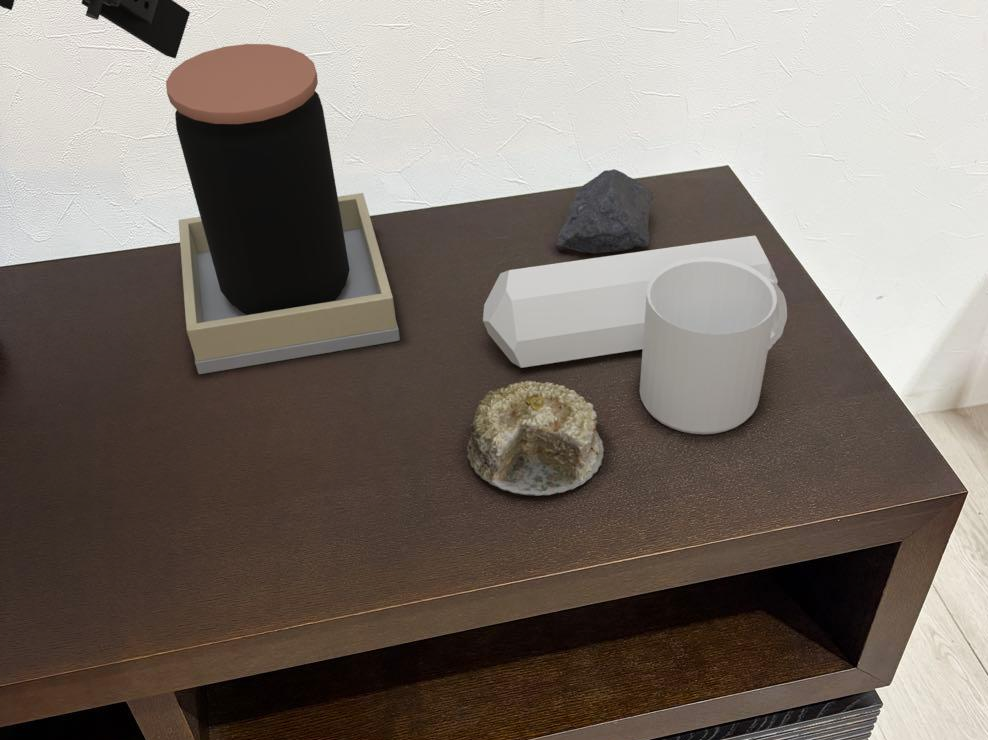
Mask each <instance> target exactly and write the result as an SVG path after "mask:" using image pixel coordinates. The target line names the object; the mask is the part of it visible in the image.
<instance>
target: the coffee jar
mask: <svg viewBox="0 0 988 740" xmlns="http://www.w3.org/2000/svg"><path fill="white" fill-rule="evenodd" d="M318 83H319V82H318V72H317V69H316V65H315V63H314V61H313V60H311V58H309V57H308V56H307V55H306V54H304V53H302V52H300V51H298V50H295V49H293V48H291V47H289V46H288V47H287V46H282V45H275V44H270V43H243V44H235V45H229V46H222V47H218V48H213V49H211V50H207V51H204V52H201V53H199V54H197V55H195V56H192V57H190V58H188V59H186V60H184V61H183V62H181V63H180V64H179V65H178V66H177V67H175V68H174V69H173V70H171V72H170V74H169V75H168V77H167V79H166V80H165V87H166V93H167V94H166V95H167V98H168V101H169V103H170V104H171V105H172V107H173V108H174V109H175V114H174V116H175V117H174V119H175V126H176V128H175V129H176V132H177V136H178V140H179V143H180V144H179V145H180V147H181V150H182V154H183V158H184V162H185V164H186V169H187V173H188V177H189V180H190V184H191V187H192V192H193V194H194V198H195V202H196V205H197V210H198V213H199V217H201V221H202V224H203V228H204V232H205V235H206V239H207V243H208V246H209V250H210V253H211V257H212V261H213V264H214V268H215V272H216V275H217V279H218V283H219V286H220V290H221V292H222V293H223V295H224V296H225V297H226V298H227V300H228V301H229V302H230V303H231V305H233V306H234V307H236V308H237V309H238V310H239V311H241V312H242V313H244V314H246V315H251V314H257V313H264V312H270V311H276V310H282V309H288V308H295V307H301V306H307V305H313V304H319V303H326V302H332V301H335V300H336V299H337V298H338V297H339V295H340V294H341V292H342V289H343V288H344V287H345V285H346V282H347V278H348V274H349V271H350V269H349V263H348V257H347V251H346V245H345V239H344V233H343V227H342V221H341V215H340V208H339V202H338V190H337V186H336V179H335V173H334V167H333V160H332V155H331V154H332V153H331V148H330V143H329V137H328V129H327V124H326V118H325V113H324V108H323V104H322V101H321V98H320V95H319V93H318V92H317V91H316V89H317V86H318Z"/></svg>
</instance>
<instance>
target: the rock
mask: <svg viewBox="0 0 988 740" xmlns="http://www.w3.org/2000/svg"><path fill="white" fill-rule="evenodd" d="M653 200H654V193H653V191H652V190H651V189H650V188H648V187H647V186H645V185H644V184H642V183H641V182H637V181H636V179H635V178H633V177H631V176H628V175H627V174H626V173H624V172H622V171H620V170H618V169H615V168H614V169H608V170H603V171H602V172H600V173H599V174H598V175H597V176H595V177H594V178H592V179H590V180H589V181H588V182H586V183H585V184H583V185H582V187H579V188H578V189H577V192H576V195H575V196H574V199H573V200H572V201H571V203H570V205H569V207H568V208H567V214H566V215H565V217H564V224H563V225H562V228H561V230H559V233H558V234H557V236H556V247H557V248H558V250H560V251H567V250H572V251H577V252H579V253H591V254H595V255H596V254H602V253H603V254H604V253H615V252H618V253H622V252H624V251H627V250H632V249H634V248H635V247H640V248H645V247H647V246H648V245H650V243H651V240H652V239H651V238H652V237H651V235H650V232H649V222H650V209H649V208H650V206H651V203H652V202H653Z"/></svg>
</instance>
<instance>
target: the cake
mask: <svg viewBox="0 0 988 740" xmlns="http://www.w3.org/2000/svg"><path fill="white" fill-rule="evenodd" d="M597 416H598V415H597V413H596V411H595V410H594V405H593V403H591V402H587V400H585V397H583V396H581V395H580V394H579V393H578V392H576V390H574V389H569V388H567V387H566V386H565V385H562V384H561V385H559V384H555V383H554V382H550V381H549V382H548V381H546V382H539V381H537V382H536V381H535V380H534V381H533V380H526V381H520V382H514V383H510V384H508V385H507V386H506V387H503V386H502V387H501V388H496V389H495V390H494V391H492V390H491V389H490V390H488V392H487V394H484V397H483V399H480V400H478V405H477V407H476V408H475V412H474V418H473V422H472V423H471V427H470V429H471V430H470V431H471V434H470V435H469V439H468V441H467V442H466V445H465V446H466V447H465V450H466V453H467V454H466V457H467V459H468V461H469V466H470V467H471V468H472V469H473V471H474V473H475V474H477V475H478V476H479V477H480V479H482V480H483V481H484V482H487V483H488V485H491V486H494V487H496V488H498V489H499V490H502V491H507V492H508V493H509V492H510V493H512V494H519V495H522V496H523V495H524V496H536V497H537V496H551V495H554V494H557V493H558V494H560V493H565V492H566V491H570V490H574V489H576V488H577V487H580V486H582V485H584V484H585V483H586V482H587V481H588V480H590V479H591V478H593V476H594V475H595V474H596V473H597V472H598V470H599V468H600V466H602V463H603V462H602V461H603V458H604V456H605V455H604V451H605V449H604V448H605V447H604V444H603V440H602V439H601V437H600V435H599V433H598V430H597V424H598V418H597Z"/></svg>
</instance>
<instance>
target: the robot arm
mask: <svg viewBox="0 0 988 740" xmlns="http://www.w3.org/2000/svg"><path fill="white" fill-rule="evenodd" d="M80 3H81V5H83V6H84V7H86V12H85V16H86V17H88V18H91V19H92V20H99V19H100V17H102V18H104V19H106V20H108V22H110V23H112V24H113V25H115V26H117V27H119V28H120V29H121V30H124V31H125V32H127V33H128V34H130V35H131V36H133V37H134V38H136V39H138V40H139V41H141V42H143V43H144V44H146V45H148V46H150V47H151V48H152V49H154V50H156V51H157V52H159V53H161V54H162V55H163V56H166V57H169V58H173V59H177V55H178V51H179V49H180V46H181V42H182V40H183V37H184V34H185V30H186V28H187V24H188V21H189V17H190V14H191V11H189V10H188V9H186V8H185V7H183V6H182V5H180V4H179V3H177V2H176V1H174V0H81V2H80ZM14 4H15V0H0V7H2V8H3V9H7V10H9V11H12V10H13V7H14Z"/></svg>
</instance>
